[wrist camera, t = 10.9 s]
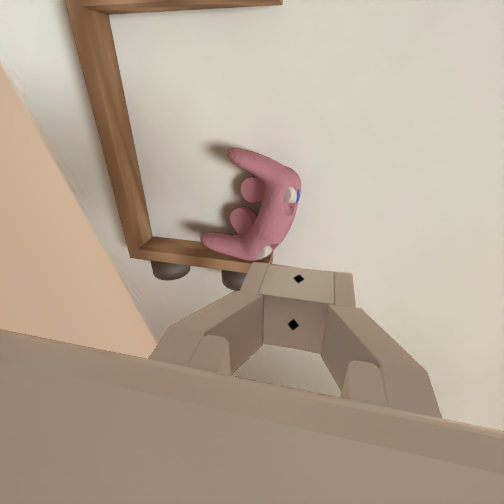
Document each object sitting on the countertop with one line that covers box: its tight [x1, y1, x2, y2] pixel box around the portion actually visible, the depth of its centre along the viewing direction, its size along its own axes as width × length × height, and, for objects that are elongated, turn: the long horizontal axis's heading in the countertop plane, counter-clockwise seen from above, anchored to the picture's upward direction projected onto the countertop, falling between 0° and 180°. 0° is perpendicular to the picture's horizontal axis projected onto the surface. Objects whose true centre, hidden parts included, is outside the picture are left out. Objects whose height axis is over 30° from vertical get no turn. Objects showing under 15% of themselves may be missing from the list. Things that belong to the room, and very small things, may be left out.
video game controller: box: [200, 148, 301, 261], centre depth 26 cm, size 10×5×7 cm
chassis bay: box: [65, 0, 283, 291], centre depth 26 cm, size 15×26×4 cm, turn 0°
